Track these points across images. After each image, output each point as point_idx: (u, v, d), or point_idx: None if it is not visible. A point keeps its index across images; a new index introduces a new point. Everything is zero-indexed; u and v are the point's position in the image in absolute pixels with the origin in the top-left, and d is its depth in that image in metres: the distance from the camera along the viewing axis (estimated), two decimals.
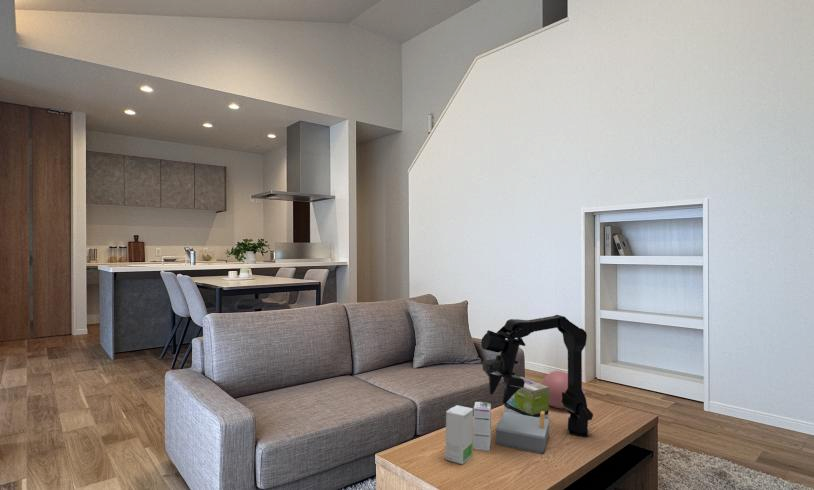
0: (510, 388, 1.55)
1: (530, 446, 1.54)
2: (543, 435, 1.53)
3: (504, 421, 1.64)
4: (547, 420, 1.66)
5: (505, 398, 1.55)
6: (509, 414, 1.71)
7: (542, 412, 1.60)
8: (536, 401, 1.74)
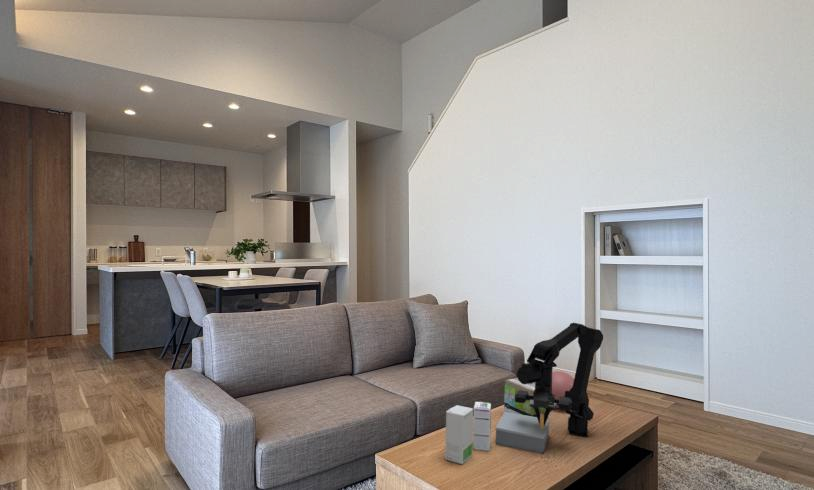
0: None
1: (530, 446, 1.54)
2: (543, 435, 1.53)
3: (504, 421, 1.64)
4: (547, 420, 1.66)
5: (546, 420, 1.59)
6: (509, 414, 1.71)
7: (542, 412, 1.60)
8: None
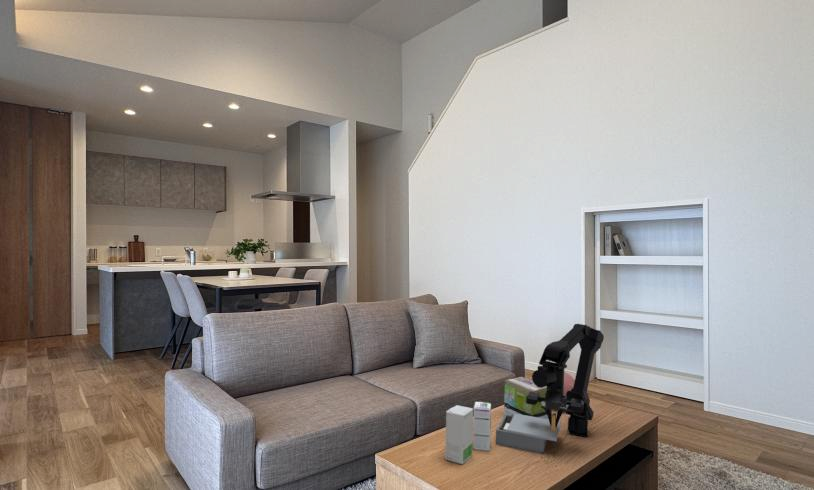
0: None
1: (530, 446, 1.54)
2: (555, 437, 1.51)
3: (515, 423, 1.62)
4: (558, 422, 1.64)
5: None
6: (519, 416, 1.69)
7: (553, 414, 1.59)
8: None
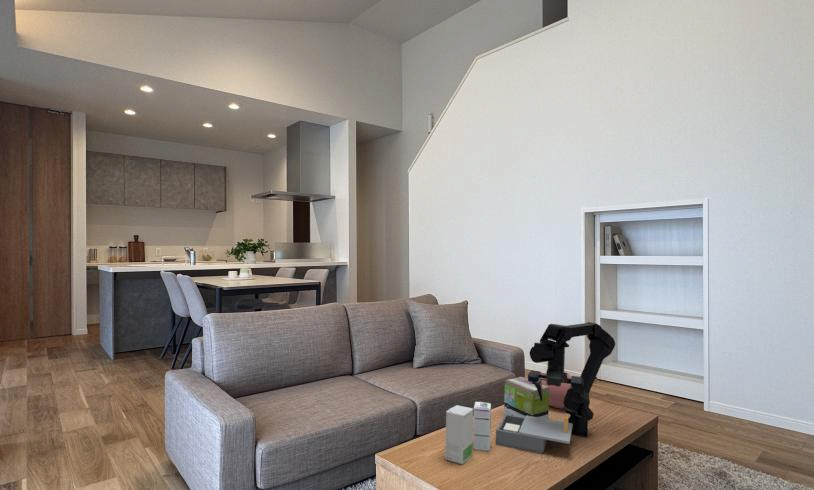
0: None
1: (530, 446, 1.54)
2: (568, 440, 1.50)
3: (526, 425, 1.61)
4: (570, 424, 1.63)
5: (570, 400, 1.61)
6: (531, 418, 1.67)
7: (566, 416, 1.57)
8: (536, 401, 1.74)
